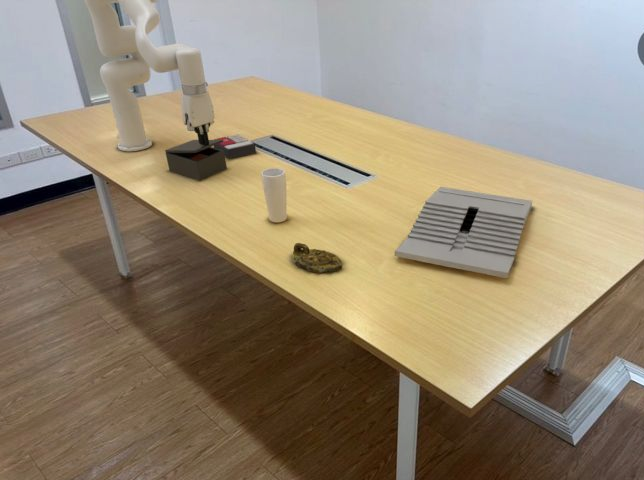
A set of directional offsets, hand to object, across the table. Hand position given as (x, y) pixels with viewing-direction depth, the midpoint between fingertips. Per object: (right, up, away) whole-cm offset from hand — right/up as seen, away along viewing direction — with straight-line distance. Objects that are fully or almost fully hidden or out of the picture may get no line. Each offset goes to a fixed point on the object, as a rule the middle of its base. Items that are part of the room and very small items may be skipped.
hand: (204, 144), depth 188 cm
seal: (+43, -42, -43) cm, 74 cm away
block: (-3, -7, +7) cm, 10 cm away
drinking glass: (+29, -28, -23) cm, 47 cm away
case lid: (-5, 0, +4) cm, 6 cm away
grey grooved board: (+85, -33, -29) cm, 96 cm away
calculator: (+4, +3, +25) cm, 25 cm away
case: (-5, -7, +8) cm, 12 cm away
